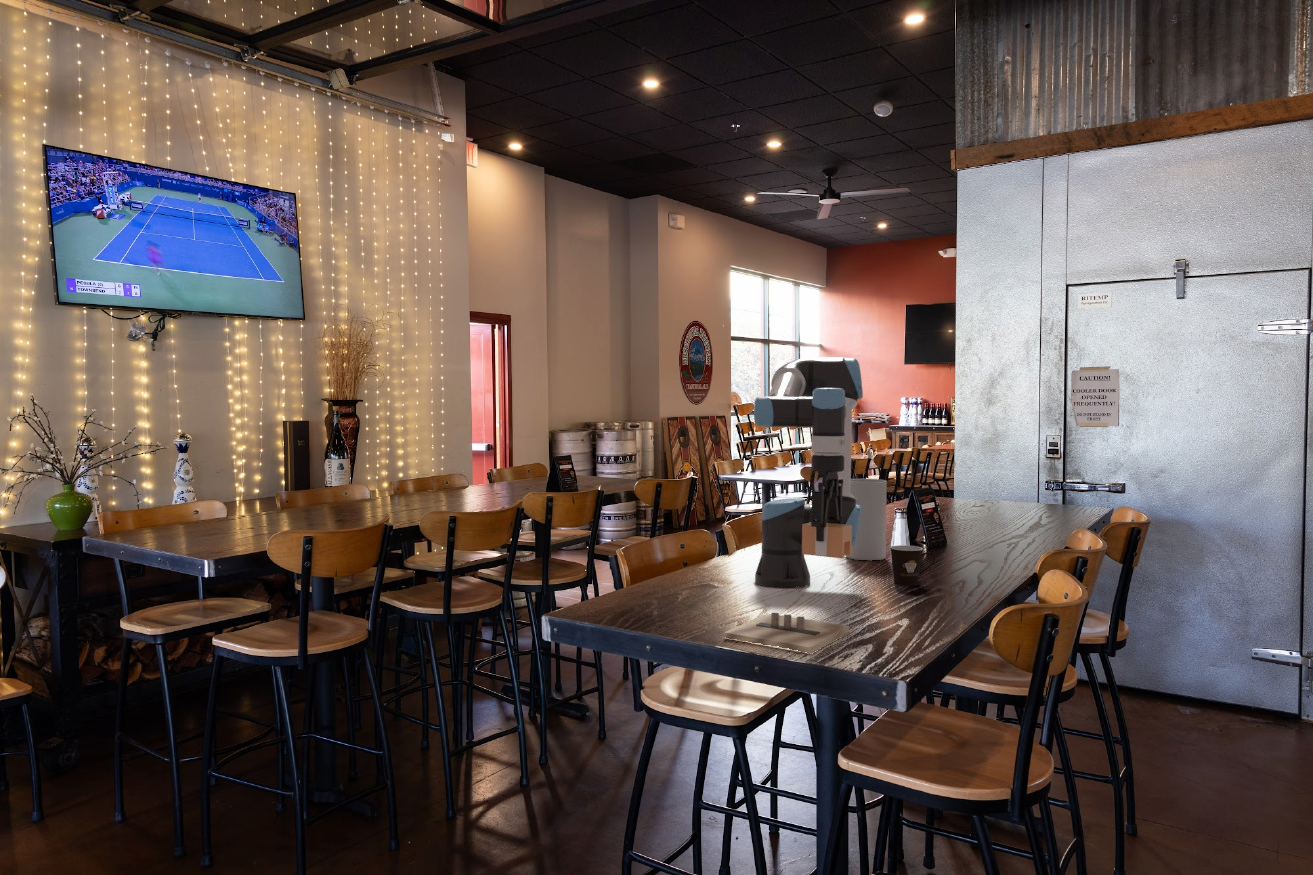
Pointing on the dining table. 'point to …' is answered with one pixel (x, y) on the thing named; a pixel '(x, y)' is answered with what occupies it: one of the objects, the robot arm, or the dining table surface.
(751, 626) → the board
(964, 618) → the dining table surface
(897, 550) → the coffee mug
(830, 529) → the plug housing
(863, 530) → the cylinder vase
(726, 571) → the dining table surface
